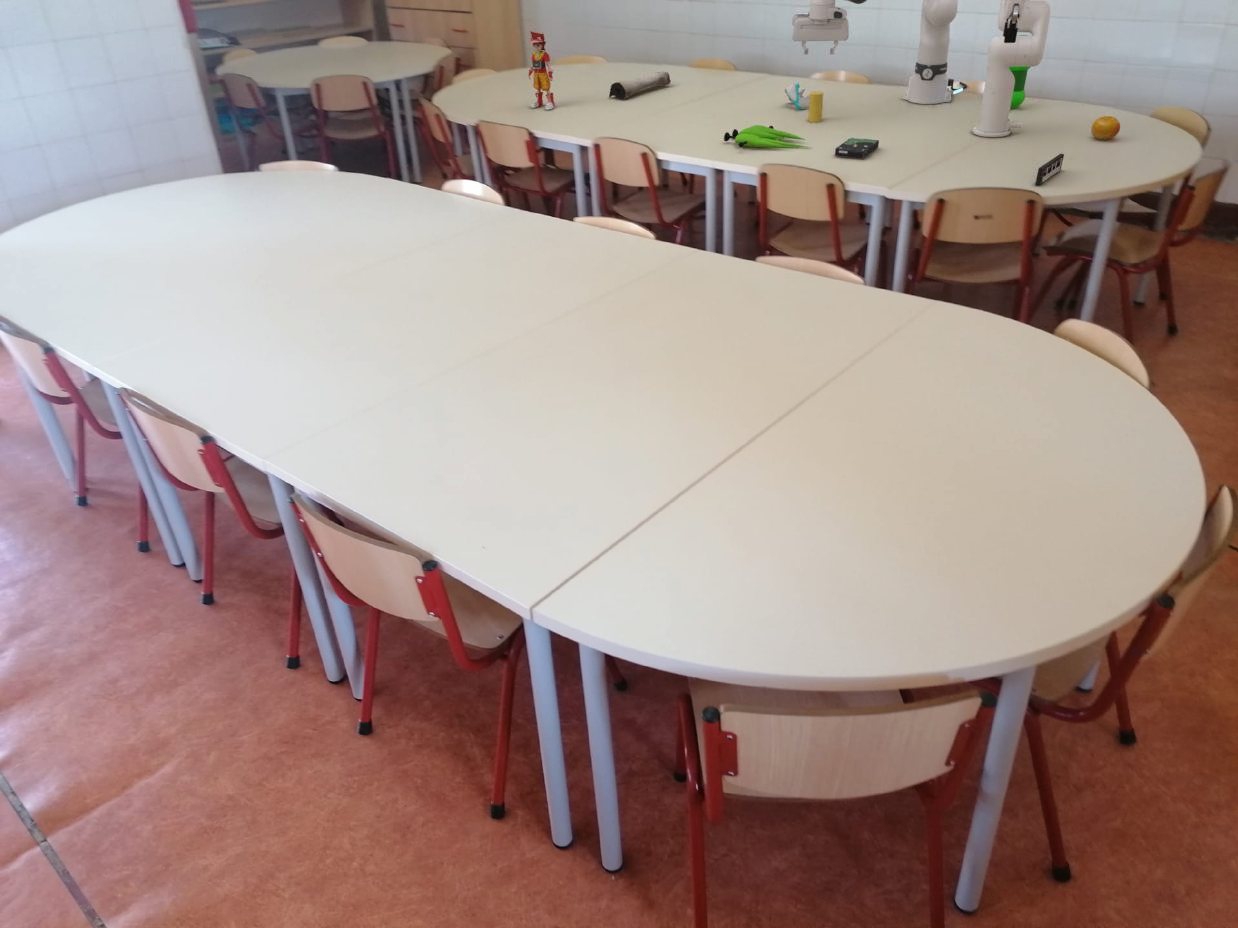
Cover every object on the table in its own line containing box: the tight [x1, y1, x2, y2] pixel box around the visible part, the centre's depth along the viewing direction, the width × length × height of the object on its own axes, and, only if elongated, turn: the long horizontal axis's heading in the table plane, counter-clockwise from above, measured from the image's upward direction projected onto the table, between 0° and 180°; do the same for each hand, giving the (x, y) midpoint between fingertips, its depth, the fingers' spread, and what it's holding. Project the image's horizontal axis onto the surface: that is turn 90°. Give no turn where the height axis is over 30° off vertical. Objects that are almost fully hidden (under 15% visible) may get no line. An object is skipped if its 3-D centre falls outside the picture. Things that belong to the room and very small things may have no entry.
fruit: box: [1090, 115, 1121, 141], centre depth 303 cm, size 8×8×8 cm
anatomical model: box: [784, 80, 810, 111], centre depth 360 cm, size 15×10×10 cm
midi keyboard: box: [1035, 153, 1065, 186], centre depth 273 cm, size 18×1×5 cm, turn 138°
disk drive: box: [834, 137, 880, 159], centre depth 305 cm, size 10×3×15 cm
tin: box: [807, 90, 824, 123], centre depth 340 cm, size 5×5×10 cm
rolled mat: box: [608, 71, 672, 101], centre depth 395 cm, size 30×9×10 cm
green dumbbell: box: [1009, 66, 1031, 110], centre depth 337 cm, size 10×10×25 cm
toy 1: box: [527, 31, 556, 111], centre depth 374 cm, size 12×9×30 cm
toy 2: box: [723, 124, 807, 148], centre depth 319 cm, size 28×5×30 cm
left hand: (819, 54), depth 330 cm, fingers open, 8 cm apart
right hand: (1008, 39), depth 271 cm, fingers open, 9 cm apart
